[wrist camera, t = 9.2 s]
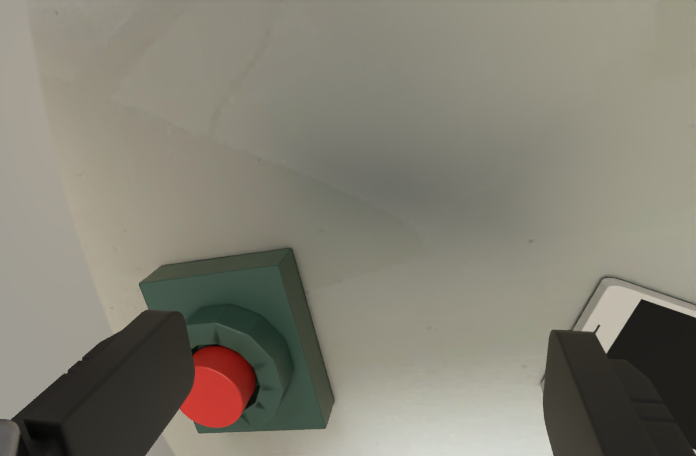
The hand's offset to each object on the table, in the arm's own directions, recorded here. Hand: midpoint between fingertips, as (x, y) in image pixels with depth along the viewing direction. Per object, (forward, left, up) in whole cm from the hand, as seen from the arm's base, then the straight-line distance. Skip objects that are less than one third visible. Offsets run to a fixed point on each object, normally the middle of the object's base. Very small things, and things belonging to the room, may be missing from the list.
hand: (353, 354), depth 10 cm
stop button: (+1, -12, -10) cm, 16 cm away
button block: (+1, -12, -13) cm, 18 cm away
